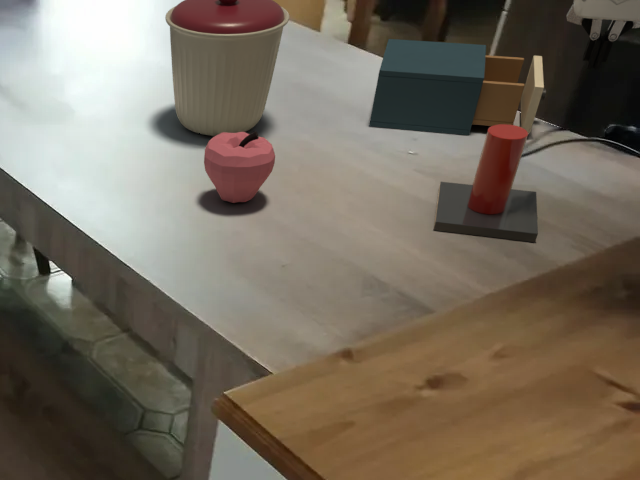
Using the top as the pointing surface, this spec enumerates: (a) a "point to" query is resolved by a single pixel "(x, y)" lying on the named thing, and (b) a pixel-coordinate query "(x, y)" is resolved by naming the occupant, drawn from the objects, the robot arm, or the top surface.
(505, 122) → the drawer
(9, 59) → the top surface
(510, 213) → the board
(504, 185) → the red cylinder
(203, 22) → the canister
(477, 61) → the cabinet
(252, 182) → the apple
